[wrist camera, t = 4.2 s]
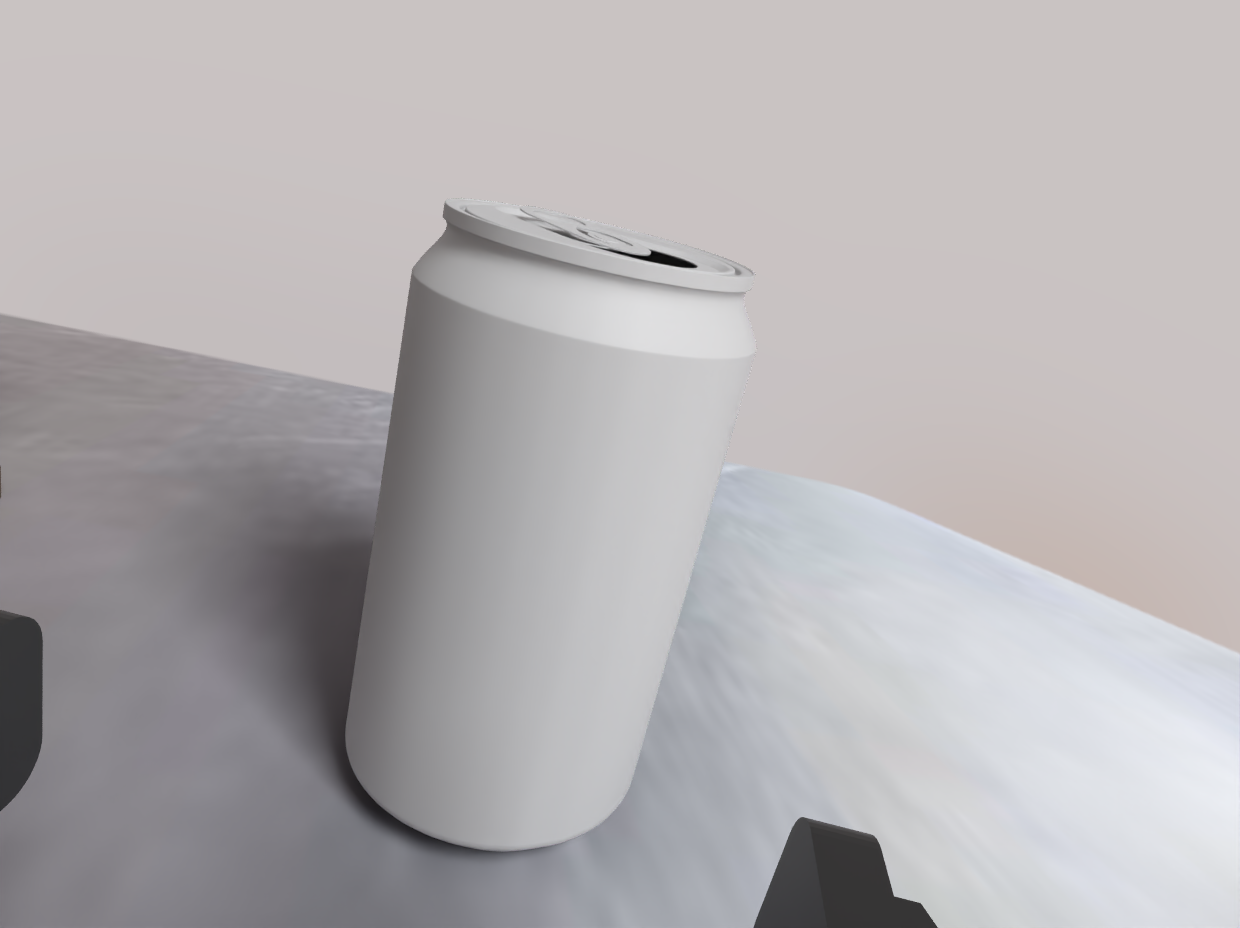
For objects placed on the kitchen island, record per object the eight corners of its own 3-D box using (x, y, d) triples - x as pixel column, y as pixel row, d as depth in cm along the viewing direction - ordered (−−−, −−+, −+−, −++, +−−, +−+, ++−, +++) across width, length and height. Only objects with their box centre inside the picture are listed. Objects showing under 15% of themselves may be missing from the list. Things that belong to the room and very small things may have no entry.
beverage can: (491, 942, 15) (655, 271, 11) (276, 747, 18) (344, 169, 14) (677, 779, 20) (834, 281, 16) (484, 649, 23) (577, 204, 19)
